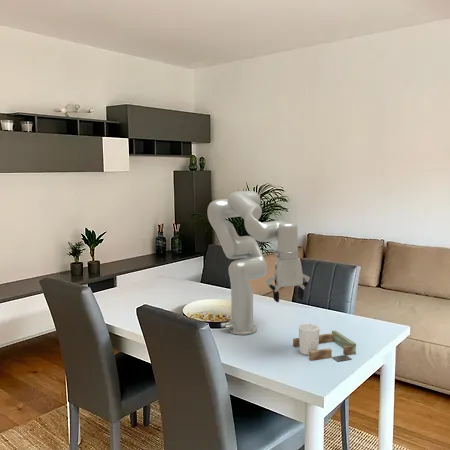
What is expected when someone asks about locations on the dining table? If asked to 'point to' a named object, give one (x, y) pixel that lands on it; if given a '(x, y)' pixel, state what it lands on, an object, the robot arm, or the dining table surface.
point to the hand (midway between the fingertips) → (288, 300)
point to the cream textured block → (308, 338)
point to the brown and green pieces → (336, 337)
